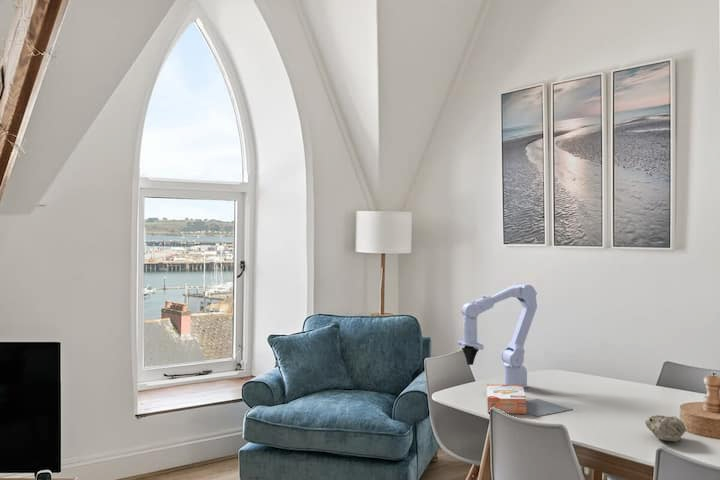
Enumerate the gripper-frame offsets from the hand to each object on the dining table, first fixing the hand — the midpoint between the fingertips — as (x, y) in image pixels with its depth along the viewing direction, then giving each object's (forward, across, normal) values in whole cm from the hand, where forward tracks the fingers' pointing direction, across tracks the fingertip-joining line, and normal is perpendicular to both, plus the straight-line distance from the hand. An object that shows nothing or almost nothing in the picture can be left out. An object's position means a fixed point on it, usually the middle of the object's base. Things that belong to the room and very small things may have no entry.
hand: (470, 364), depth 281 cm
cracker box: (+7, +20, 0) cm, 22 cm away
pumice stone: (+11, +85, +9) cm, 86 cm away
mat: (+10, +36, +3) cm, 37 cm away
